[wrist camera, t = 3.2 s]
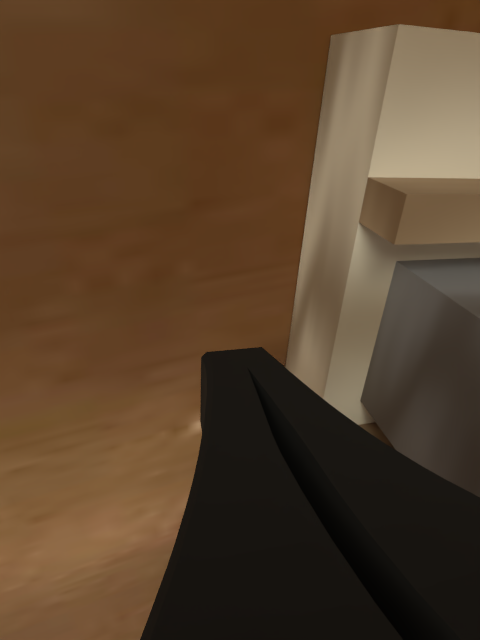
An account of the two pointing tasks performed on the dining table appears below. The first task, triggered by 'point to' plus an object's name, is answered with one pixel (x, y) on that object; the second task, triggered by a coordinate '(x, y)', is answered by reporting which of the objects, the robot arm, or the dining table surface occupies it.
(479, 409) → the charcoal block
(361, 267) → the railed deck
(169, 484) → the dining table surface
